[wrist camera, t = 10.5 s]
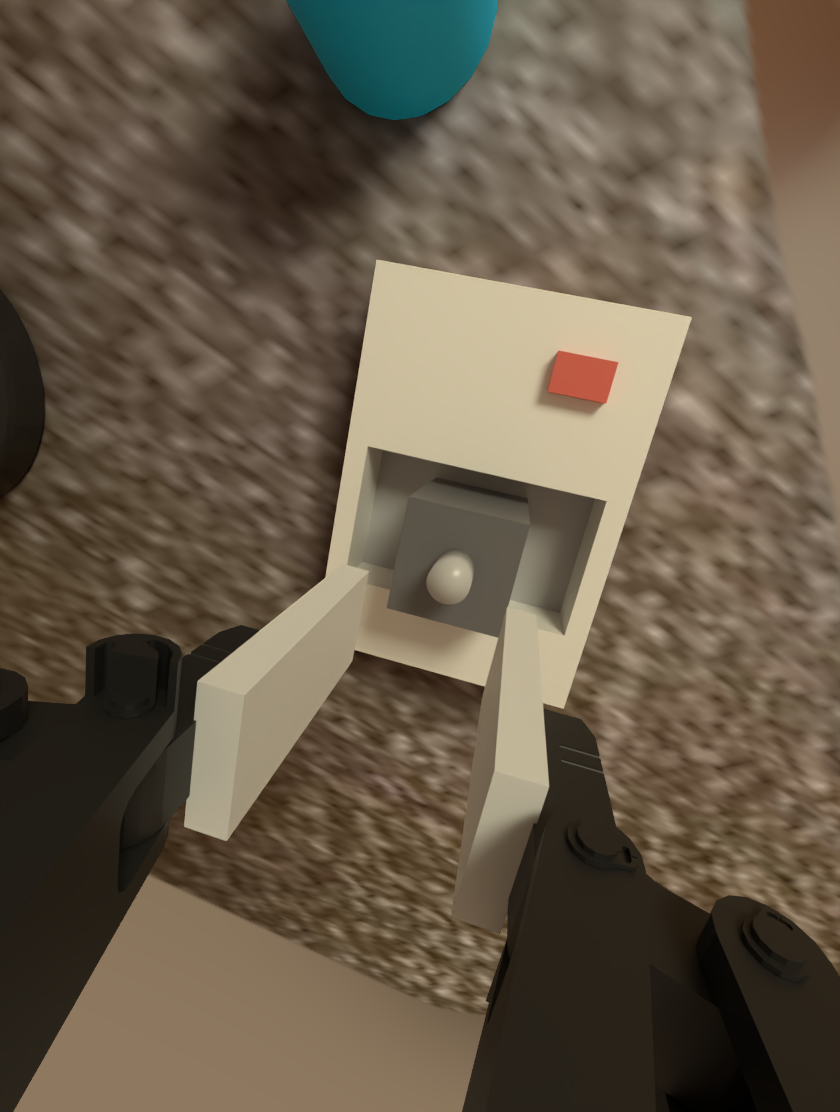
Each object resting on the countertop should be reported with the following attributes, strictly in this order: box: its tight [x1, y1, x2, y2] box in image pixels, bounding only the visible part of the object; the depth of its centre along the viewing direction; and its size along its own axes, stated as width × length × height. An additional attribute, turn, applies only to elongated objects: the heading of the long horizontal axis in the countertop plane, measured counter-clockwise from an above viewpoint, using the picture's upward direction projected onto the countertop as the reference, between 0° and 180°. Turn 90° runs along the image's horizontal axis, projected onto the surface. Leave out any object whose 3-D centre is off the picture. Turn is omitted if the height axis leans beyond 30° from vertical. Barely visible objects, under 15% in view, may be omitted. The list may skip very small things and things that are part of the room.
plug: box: [387, 477, 530, 638], centre depth 23 cm, size 5×5×9 cm
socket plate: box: [325, 260, 692, 709], centre depth 25 cm, size 13×18×4 cm
